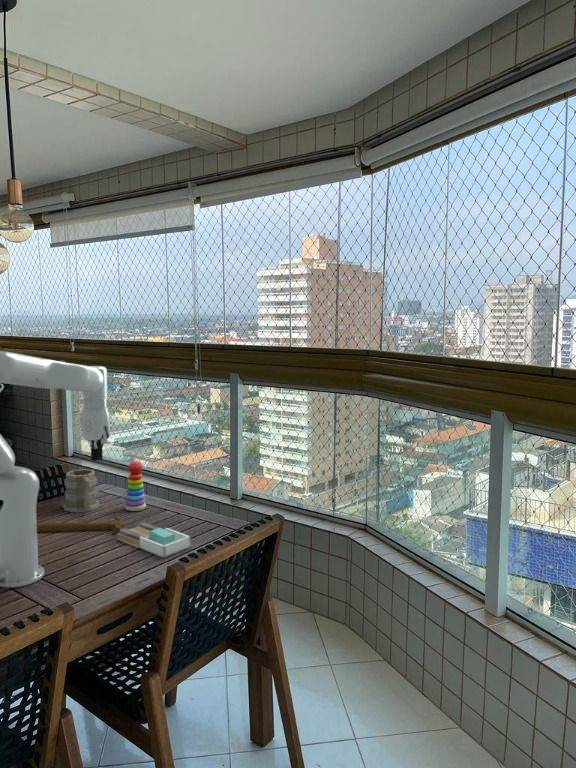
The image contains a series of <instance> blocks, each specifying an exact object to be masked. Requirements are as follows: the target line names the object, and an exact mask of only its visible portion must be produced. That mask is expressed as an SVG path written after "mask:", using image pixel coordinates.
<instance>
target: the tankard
mask: <svg viewBox="0 0 576 768" xmlns="http://www.w3.org/2000/svg"><path fill="white" fill-rule="evenodd" d="M96 485H98V478H97V477H96V471H95V470H94V469H89V468H80V469H72V470H70V471H67V472H66V473H65V478H64V486H65V488H66V490H65V491H64V497H65V500H66V501H65V502H64V503H62V505H63V510H64V511H65V512H67V511H69V512H68V513H74V512H75V513H76V514H78V513H77V512H79V513H83V512H84V513H86V512H91V511H93V510H95V509H98V508H99V507H100V502H99V500H98V499H97V497H98V490H97V488H96ZM85 511H86V512H85ZM75 513H74V514H75Z"/></svg>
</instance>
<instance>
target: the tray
mask: <svg viewBox="0 0 576 768" xmlns="http://www.w3.org/2000/svg"><path fill="white" fill-rule="evenodd" d="M164 529H165V530H167V531H168V532H171V533H174V534H175V541H174V542H172V543H169V544H166V545H162V544H159V543H157V542H154V541H152V540H149V539H147V538H144V537H140V547H139V549H141V550H144V551H146V552H149V553H151V554H154V555H155V556H158V557H161V558H163V559H164V558H167V557H169V556H171V555H174V554H177V553H179V552H181V551H185V550H187V549H189V548H191V547H192V536H190V535H189V534H188V535H187V534H184V533H182V532H180V531H177V530H173V529H171V528H169V527H165V528H164ZM184 549H185V550H184Z"/></svg>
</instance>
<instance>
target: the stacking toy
mask: <svg viewBox="0 0 576 768" xmlns="http://www.w3.org/2000/svg"><path fill="white" fill-rule="evenodd" d="M142 470H143V464H142V463H141V461H138V460H134V461H132V462H131V463H129V465H128V471H129V472H130V473H129V475H128V478H129V479H128V480H127V483H128V484H127V490H126V496H125V497H126V499H125V501H124V503H125V505H124V509H125V510H126V511H128V512H138V511H143V510H144V509H145V508H146V507H147V503H146V499H145V497H146V494H145V489H144V484H143V479H142V478H143V473H141V472H142Z"/></svg>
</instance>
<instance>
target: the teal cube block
mask: <svg viewBox="0 0 576 768" xmlns="http://www.w3.org/2000/svg"><path fill="white" fill-rule="evenodd" d="M165 531H167V530H165V528H161V527H159V528H158V529H155V530H152V531H150V540H152V541H154V542H157V534H159V533H162V532H165Z"/></svg>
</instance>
